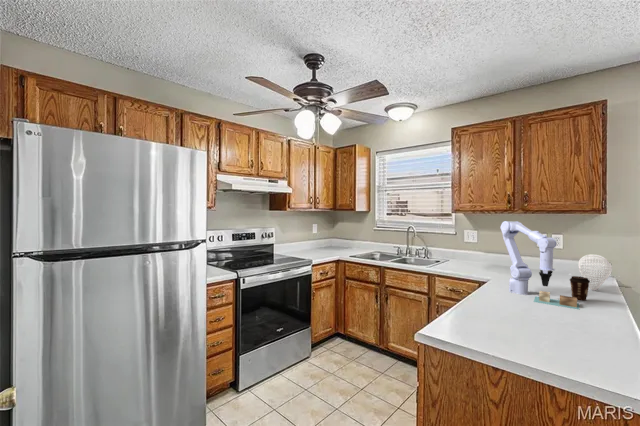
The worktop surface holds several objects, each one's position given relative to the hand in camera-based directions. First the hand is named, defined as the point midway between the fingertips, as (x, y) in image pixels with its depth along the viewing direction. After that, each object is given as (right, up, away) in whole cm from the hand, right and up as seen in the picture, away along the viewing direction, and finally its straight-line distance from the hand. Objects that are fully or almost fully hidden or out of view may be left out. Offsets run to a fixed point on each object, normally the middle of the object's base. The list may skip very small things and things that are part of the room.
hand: (545, 284), depth 169 cm
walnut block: (+7, -9, -6) cm, 13 cm away
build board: (+3, -10, -3) cm, 11 cm away
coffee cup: (+22, -10, +5) cm, 25 cm away
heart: (+52, -10, +29) cm, 60 cm away
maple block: (0, -9, 0) cm, 9 cm away
